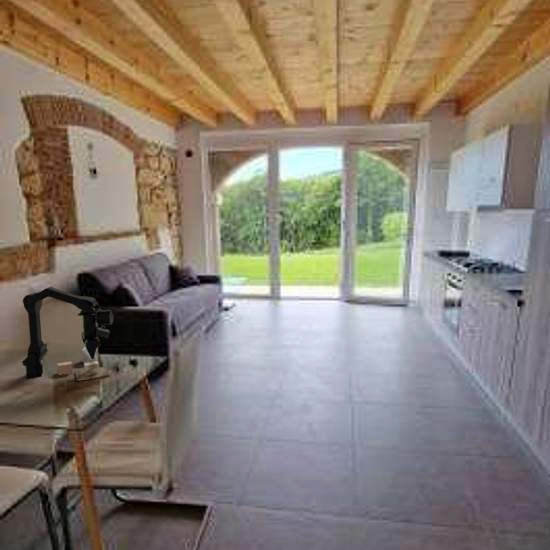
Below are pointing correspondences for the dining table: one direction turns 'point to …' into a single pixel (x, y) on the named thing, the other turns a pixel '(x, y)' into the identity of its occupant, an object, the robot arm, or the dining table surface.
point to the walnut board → (102, 373)
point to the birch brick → (91, 368)
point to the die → (84, 356)
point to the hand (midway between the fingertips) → (91, 355)
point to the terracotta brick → (64, 368)
